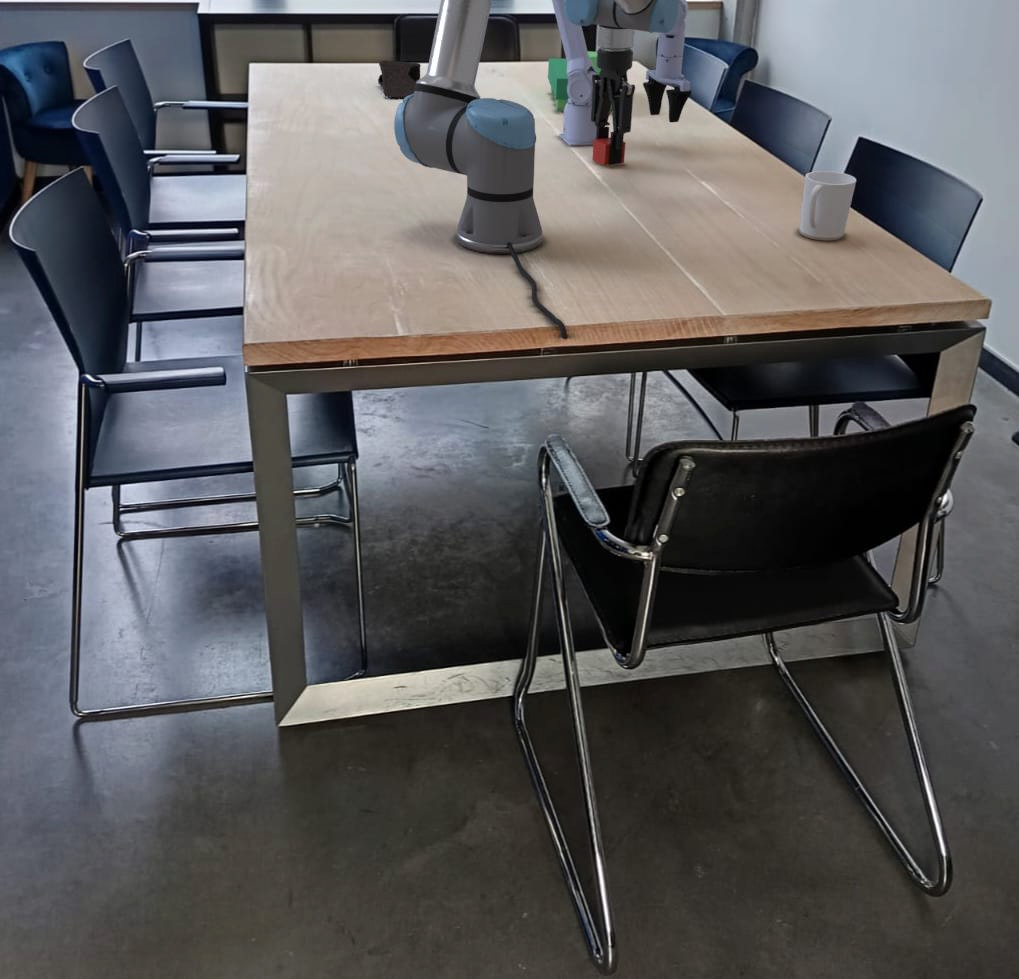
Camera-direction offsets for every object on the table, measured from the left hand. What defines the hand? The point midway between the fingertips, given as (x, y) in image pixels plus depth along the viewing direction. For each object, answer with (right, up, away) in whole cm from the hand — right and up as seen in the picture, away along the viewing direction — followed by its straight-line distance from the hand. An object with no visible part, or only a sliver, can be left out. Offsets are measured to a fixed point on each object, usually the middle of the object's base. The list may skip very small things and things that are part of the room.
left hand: (608, 160), depth 241 cm
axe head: (-51, +37, +59) cm, 86 cm away
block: (0, 0, 0) cm, 0 cm away
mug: (+35, -26, -39) cm, 59 cm away
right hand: (+14, +12, +9) cm, 20 cm away
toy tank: (-2, +33, +55) cm, 64 cm away
